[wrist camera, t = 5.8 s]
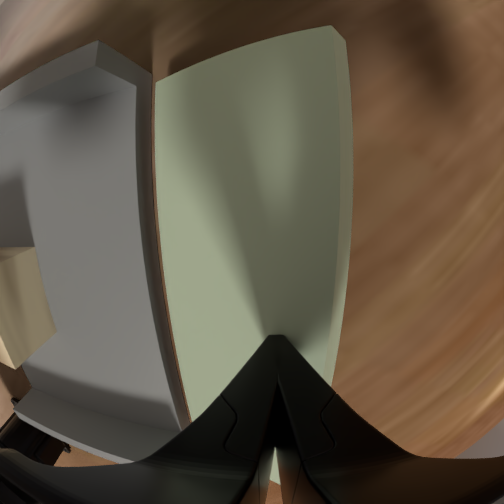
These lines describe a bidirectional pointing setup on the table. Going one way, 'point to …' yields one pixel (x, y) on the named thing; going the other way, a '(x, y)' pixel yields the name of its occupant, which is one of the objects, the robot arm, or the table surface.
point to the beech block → (22, 306)
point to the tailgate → (255, 205)
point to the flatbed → (91, 253)
